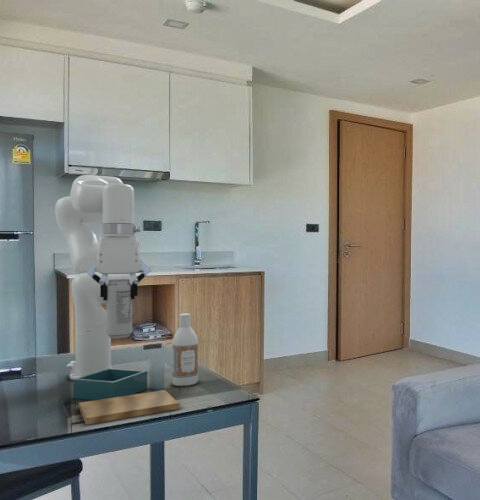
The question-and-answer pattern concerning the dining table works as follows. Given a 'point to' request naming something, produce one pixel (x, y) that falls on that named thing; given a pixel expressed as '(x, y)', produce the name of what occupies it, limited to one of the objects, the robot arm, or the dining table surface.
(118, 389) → the teal open tray
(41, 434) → the dining table surface
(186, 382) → the bath foam
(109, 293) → the energy drink can
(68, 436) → the dining table surface
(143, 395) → the oak board
